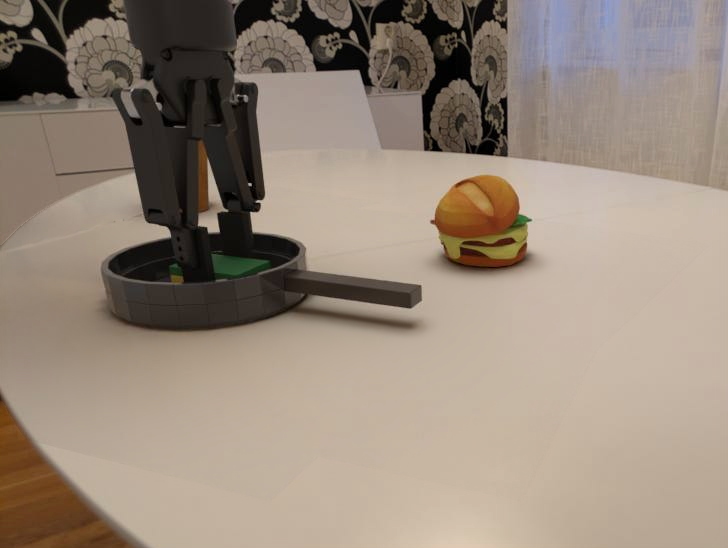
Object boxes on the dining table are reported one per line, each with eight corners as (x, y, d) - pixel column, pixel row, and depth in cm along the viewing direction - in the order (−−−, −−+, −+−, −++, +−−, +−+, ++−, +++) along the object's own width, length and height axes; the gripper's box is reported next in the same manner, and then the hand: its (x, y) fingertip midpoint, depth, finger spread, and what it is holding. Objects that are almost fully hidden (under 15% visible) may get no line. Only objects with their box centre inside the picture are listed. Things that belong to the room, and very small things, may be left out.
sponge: (174, 299, 58) (168, 266, 57) (210, 284, 62) (204, 252, 61) (241, 309, 56) (236, 275, 55) (274, 293, 60) (269, 260, 59)
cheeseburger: (548, 251, 77) (544, 167, 71) (504, 298, 70) (496, 209, 64) (472, 238, 81) (463, 158, 75) (424, 280, 74) (409, 196, 68)
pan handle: (284, 291, 58) (282, 276, 57) (299, 284, 60) (297, 269, 59) (411, 309, 54) (410, 292, 54) (422, 300, 56) (422, 284, 56)
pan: (64, 315, 57) (52, 270, 56) (203, 262, 72) (197, 225, 71) (230, 343, 52) (223, 295, 51) (343, 280, 67) (340, 241, 65)
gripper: (122, -20, 41) (187, 334, 51) (289, 0, 56) (314, 270, 66) (31, -18, 43) (110, 320, 53) (215, 0, 58) (250, 262, 68)
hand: (223, 292), depth 59 cm, fingers closed on sponge, 4 cm apart
